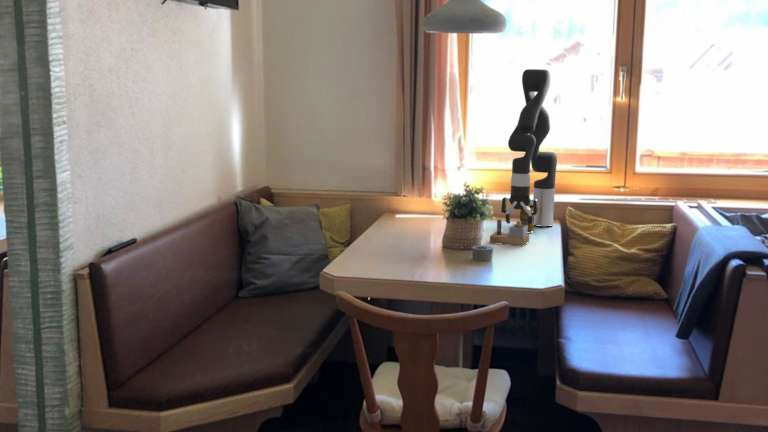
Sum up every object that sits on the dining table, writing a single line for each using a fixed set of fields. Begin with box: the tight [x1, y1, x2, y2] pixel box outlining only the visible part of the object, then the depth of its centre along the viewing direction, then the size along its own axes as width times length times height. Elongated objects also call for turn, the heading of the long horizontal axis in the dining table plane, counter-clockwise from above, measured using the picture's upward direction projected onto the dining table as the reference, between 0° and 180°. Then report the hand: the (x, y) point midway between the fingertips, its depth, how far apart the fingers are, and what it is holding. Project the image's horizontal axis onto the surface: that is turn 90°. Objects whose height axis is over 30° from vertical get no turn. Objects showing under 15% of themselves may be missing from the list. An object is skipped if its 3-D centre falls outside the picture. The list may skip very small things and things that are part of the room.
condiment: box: [519, 203, 535, 232], centre depth 345 cm, size 7×8×12 cm
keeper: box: [489, 218, 530, 246], centre depth 324 cm, size 9×14×9 cm, turn 68°
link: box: [508, 223, 528, 238], centre depth 323 cm, size 8×6×4 cm
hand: (518, 224), depth 322 cm, fingers open, 8 cm apart
